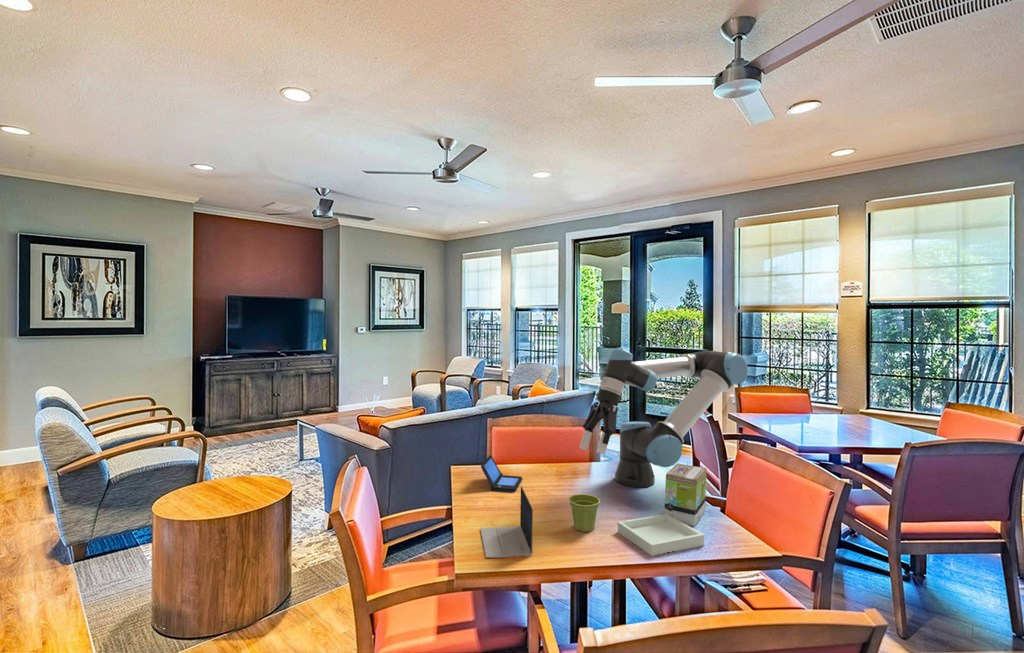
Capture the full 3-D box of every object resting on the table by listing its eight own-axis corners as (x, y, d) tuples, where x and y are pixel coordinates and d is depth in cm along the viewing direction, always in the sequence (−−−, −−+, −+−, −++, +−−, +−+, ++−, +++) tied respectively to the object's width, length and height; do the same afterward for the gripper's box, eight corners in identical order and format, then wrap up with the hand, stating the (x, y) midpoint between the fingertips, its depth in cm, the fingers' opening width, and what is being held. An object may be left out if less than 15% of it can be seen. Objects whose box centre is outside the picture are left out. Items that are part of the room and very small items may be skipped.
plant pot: (574, 535, 145) (574, 506, 145) (564, 522, 154) (564, 495, 154) (604, 533, 147) (604, 504, 147) (592, 520, 156) (593, 493, 156)
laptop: (480, 530, 148) (480, 487, 148) (521, 528, 150) (522, 485, 150) (485, 560, 131) (486, 510, 130) (532, 557, 132) (533, 508, 132)
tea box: (696, 527, 152) (697, 479, 152) (663, 519, 158) (664, 473, 157) (706, 511, 165) (707, 467, 165) (675, 504, 170) (676, 461, 170)
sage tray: (666, 523, 155) (666, 513, 155) (704, 545, 140) (704, 534, 140) (617, 531, 148) (617, 521, 148) (651, 556, 133) (652, 545, 133)
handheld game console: (515, 493, 180) (515, 468, 180) (479, 490, 183) (480, 465, 182) (522, 479, 195) (523, 456, 195) (489, 477, 198) (490, 454, 198)
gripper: (585, 388, 184) (567, 444, 179) (618, 387, 161) (598, 451, 156) (603, 396, 186) (585, 451, 181) (637, 396, 162) (618, 459, 157)
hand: (591, 451), depth 168 cm, fingers open, 13 cm apart
